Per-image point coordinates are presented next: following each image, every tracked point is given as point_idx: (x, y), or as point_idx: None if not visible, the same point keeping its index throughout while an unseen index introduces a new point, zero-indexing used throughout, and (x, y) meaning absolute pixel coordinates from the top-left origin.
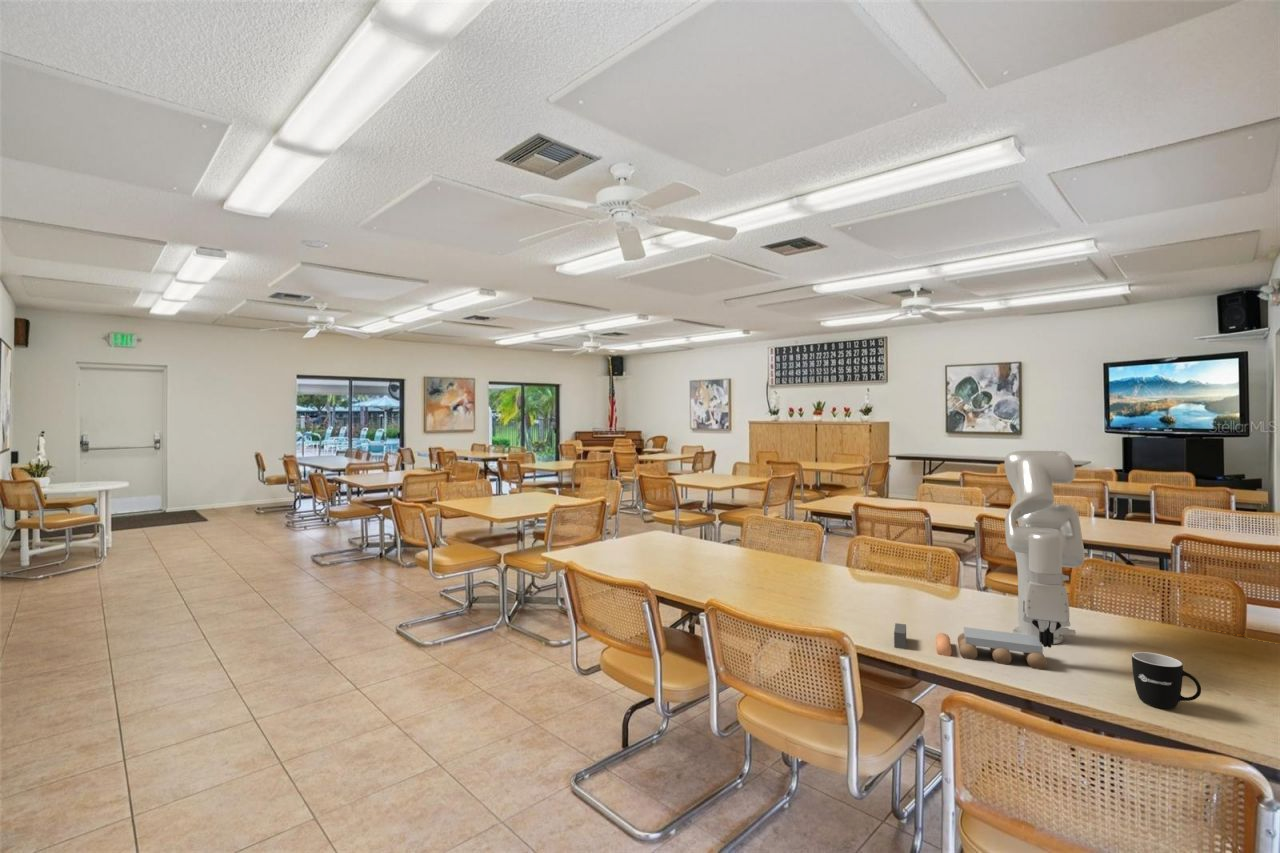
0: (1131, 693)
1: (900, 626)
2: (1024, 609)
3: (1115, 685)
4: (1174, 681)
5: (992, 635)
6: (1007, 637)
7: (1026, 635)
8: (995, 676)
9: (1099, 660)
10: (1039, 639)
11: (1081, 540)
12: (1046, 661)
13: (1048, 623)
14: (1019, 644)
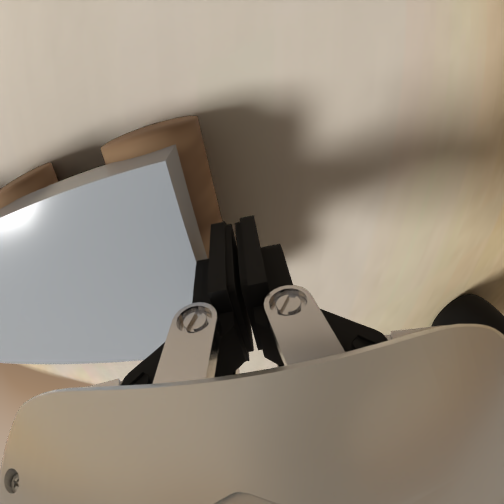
0: (432, 302)
1: None
2: (10, 434)
3: (422, 272)
4: None
5: (6, 312)
6: (51, 308)
7: (101, 203)
8: (125, 373)
9: (441, 23)
10: (197, 267)
11: None
12: None
13: (278, 345)
14: (128, 356)
